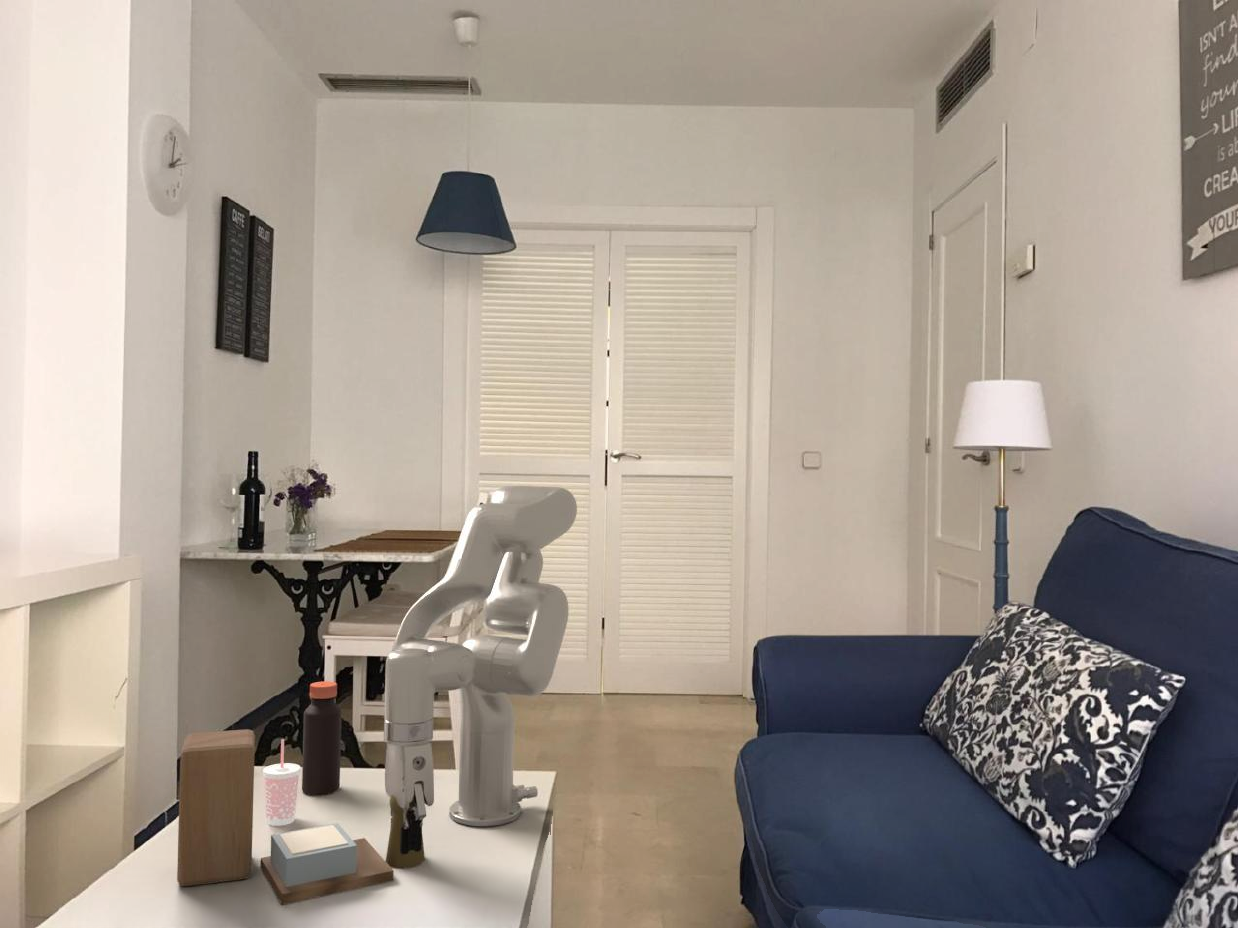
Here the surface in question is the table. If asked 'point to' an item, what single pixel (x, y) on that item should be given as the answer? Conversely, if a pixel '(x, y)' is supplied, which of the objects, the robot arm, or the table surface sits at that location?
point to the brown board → (367, 874)
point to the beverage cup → (281, 791)
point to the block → (216, 807)
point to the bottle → (321, 741)
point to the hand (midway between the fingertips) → (405, 845)
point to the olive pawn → (393, 850)
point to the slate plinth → (313, 854)
